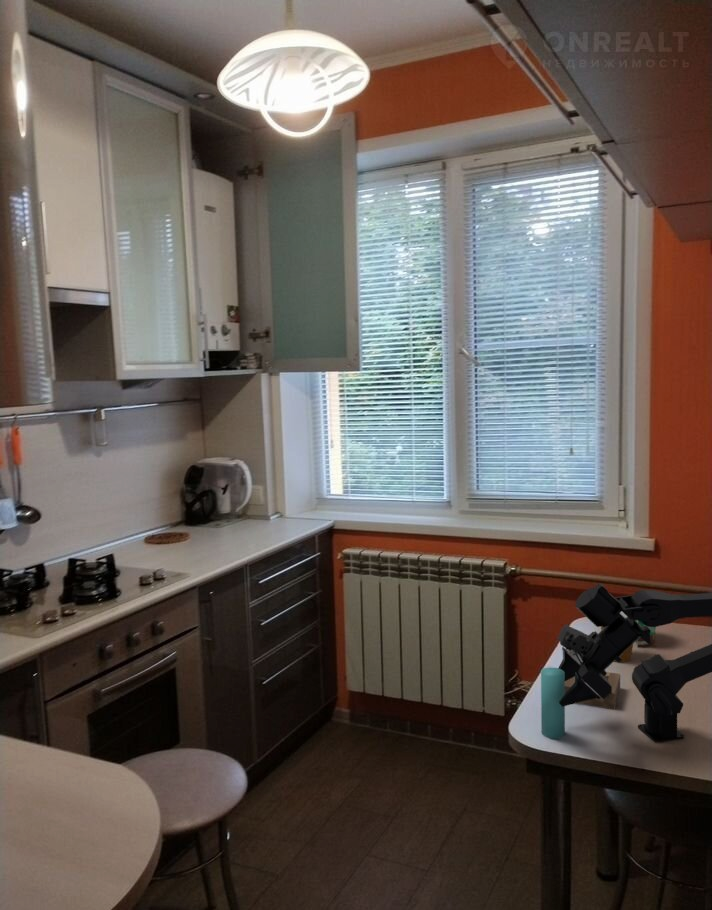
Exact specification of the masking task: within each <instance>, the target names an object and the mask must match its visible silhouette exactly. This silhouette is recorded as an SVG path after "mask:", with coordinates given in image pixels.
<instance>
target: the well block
mask: <svg viewBox="0 0 712 910" xmlns="http://www.w3.org/2000/svg"><path fill="white" fill-rule="evenodd" d="M606 673H607V674H606V675H605V676H604V677H605V678H606V679H607V680H608V681H609V683H610V685H611V686H612V693H611V694H610V695H609V696H608V697H607V698H606V699H605V700H604V699H603V698H602V697H601V696H600V697H601V698H600V699H598V698H596V699H591V700H586V701H582V702H578V703H577V704H579V705H584V706H585V705H587V706H592V707H593V706H594V707H597V708H598V707H599V708H605V709H611V710H615V708H616V705H617V701H618V697H619V695H620V692H621V673H615V672H609V671H606ZM574 683H575V676H574V677H573V678H571V679H569V680H567V681H565V693H566V692H567V691H568V690H569V689H570V687H571V686H572V685H573V684H574Z"/></svg>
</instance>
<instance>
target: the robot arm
mask: <svg viewBox="0 0 712 910" xmlns="http://www.w3.org/2000/svg"><path fill="white" fill-rule="evenodd" d="M574 606H575V608H576V609H578V611H579V612H580V613H582V615H583V616H584V617H585V618H586V619H588V620H589V622H591V623H592V624H593V625H594V626H595V627H598V628H601V626H603V627H605V628H604V629H603V630H602V631H601V630H600V631H599V632H597V631H595V630H594V631H592V632H590V634H586V633H584V632H582V631H581V630H578V629H575V628H574V627H572V626H569V625H567V624H563V625H562V628H561V630H560V632H559V634H558V636H557V640H558V641H559V644H560V646H562V648H561V651H562V660H561V662H560V664H559V665H558V668H559V669H561V670H563V671H564V672H565V681H567V680H569V679H571V678H573V677H574V676H575V683H574V684H573V685H572V686H571V687H570V689H569V690H568V691H567V692H566V693H565V695H564V696H563V697H562V698H561V700H560V701H559V704H560V705H561V706H562V707H564V706H565V707H567V706H570V705H574V704H579V703H578V702H582V701H586V700H591V699H596V698H598V699H600V698H601V697H602V698H603V699H604V700H605V699H606V698H607V697H608V696H609V695H610V694H611V693H612V686H611V685H610V683H609V681H608V680H607V679H606V678H605V677H604V676H605V675H606V674H607V673H606V672H607V671H606V669H608V668H609V667H610V666H611V665H612V664H613V663H614V661H615V660H616V661H617V662H616V663H617V664H618V663H621V662H620V661H621V660H622V658H621V657H620V655H621V654H622V653H623V652H625V651H626V650H627V649H628V648H629V647H630V646H631V645H632V644H633V645H634V643H635V641H636V640H637V639H639V638H640V637H641V638H642V639H643V640H644V641H645V642H646V643H647V644H650V643H651V641H650V632H651V630H650V629H649V628H648V627H656V628H657V627H660V626H661V627H662V626H665V625H670V624H672V623H674V622H676V621H678V620H681V619H686V618H706V617H712V592H704V593H687V594H674V593H673V594H672V593H668V592H664V591H659V590H652V589H651V590H650V589H641V590H637V591H635V592H634V593H633V594H630V595H623V596H616V597H615V596H613V595H612V594H611V593H610V592H609V591H608V589H607V588H606V587H605V586H604V585H603V584H602V583H600V582H599V583H598V584H597V585H596V586H592V587H590V588H588V589H587V590H584V591H583V592H582V593H581V594H580V595H579V596H578V598H576V601H575V605H574ZM621 611H622V612H623V613H624V614H625V615H626V616H627V618H625V617H624V616H623V615H621V614H620V612H621ZM635 620H638V621H640V622H642V623H643V624H644V625H645V626H641V625H640V624H639V623H637V622H636V621H635ZM647 626H648V627H647ZM711 673H712V643H711V644H708V645H706V646H703V647H701V648H699V649H695V650H693V651H691V652H689V653H686V654H684V655H682V656H679V657H677V658H675V659H664V658H663V656H662V655H661V654H659V653H658V654H655V655H653V656H651V657H650V658H648V659H644V660H643V659H642V660H640V661H639V664H638V665H635V667H634V668H633V671H632V674H631V680H632V681H631V682H632V683H633V685H634V686H635V688H636V689H637V690H638V692H639V694H640V695H641V696H642V698H643V699H644V708H643V709H644V711H643V713H644V715H643V717H644V718H643V719H644V723H641V724H637V728H638V729H639V731H641V732H642V733H644V734H645V735H646V736H647V737H649V738H650V740H652V741H653V742H655V743H660V742H667V741H668V742H669V741H674V740H682V739H684V738H685V735H684V734H683V733H682V732H681V731H680V730H678V714H681V711H682V710H683V707H684V702H682V700H681V699H680V697H678V694H679V692H680V691H681V690H682V689H683V688H684V686H685V685H686V684H687V683H689V682H691V681H694V680H696V679H698V678H699V679H700V678H701V677H703V676H706V675H708V674H711ZM600 696H601V697H600Z"/></svg>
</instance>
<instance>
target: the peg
mask: <svg viewBox="0 0 712 910" xmlns="http://www.w3.org/2000/svg"><path fill="white" fill-rule="evenodd" d="M540 692H541V693H540V696H541V697H540V702H541V703H540V704H541V705H540V706H541V707H540V710H541V713H540V714H541V716H540V717H541V720H540V721H541V735H543V736H544V737H545V738H548V739H554V740H559V739H562V738H564V737H565V735H566V714H565V713H566V706H564V707H562V706H561V705H560V704H559V701H560V700H561V698H562V697H563V696H564V695H565V672H564V671H563V670H561V669H559V667H545V668H542V669H541V670H540Z"/></svg>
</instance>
